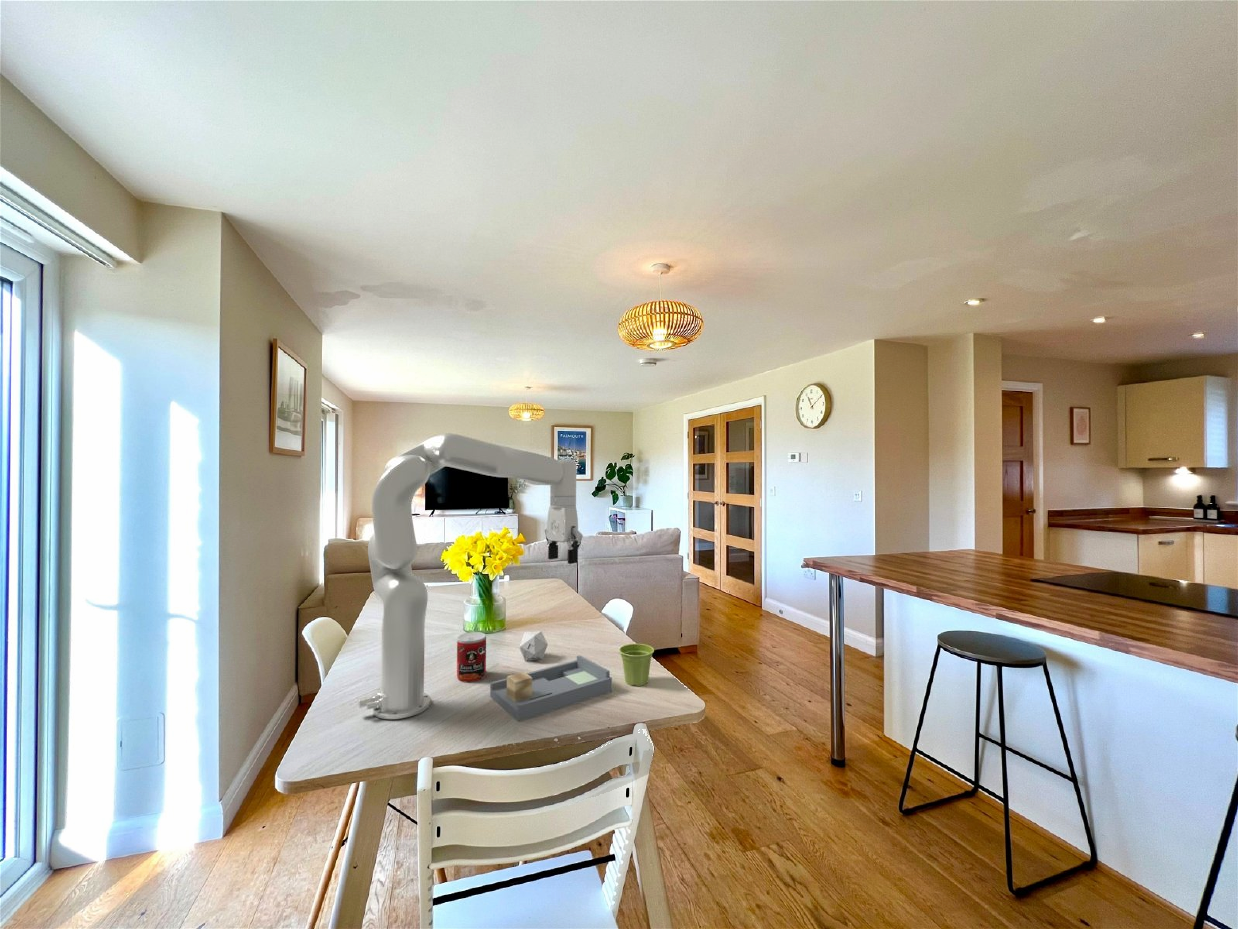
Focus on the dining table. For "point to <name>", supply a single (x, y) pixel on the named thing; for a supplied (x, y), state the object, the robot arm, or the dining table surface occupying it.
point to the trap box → (555, 688)
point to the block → (519, 686)
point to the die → (533, 646)
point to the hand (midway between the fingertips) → (562, 561)
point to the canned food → (471, 656)
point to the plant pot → (636, 663)
